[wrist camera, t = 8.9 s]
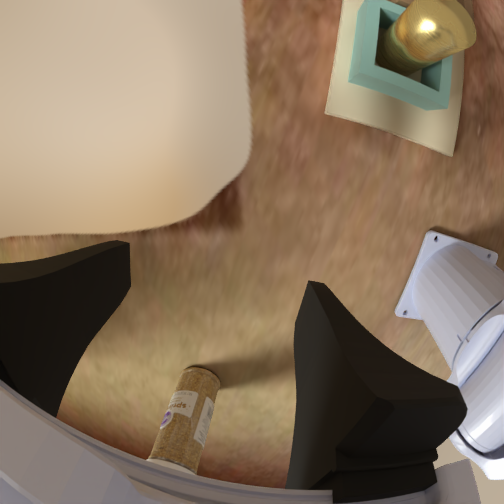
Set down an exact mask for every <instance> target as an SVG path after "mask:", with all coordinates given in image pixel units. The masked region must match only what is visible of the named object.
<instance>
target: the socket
mask: <svg viewBox="0 0 504 504" xmlns="http://www.w3.org/2000/svg"><path fill="white" fill-rule="evenodd" d="M405 9H406V8H405V7H402V6H400V5H397V4H395V3H392V2H390V1H387V0H364V2H363V3H362V5H361V6H360V8H359V10H358V11H357V20H356V29H355V36H354V44H353V51H352V58H351V64H350V71H349V77H348V82H349V83H353V84H356V85H359V86H362V87H366V88H369V89H372V90H375V91H378V92H381V93H383V94H386V95H389V96H392V97H394V98H397V99H400V100H402V101H405V102H407V103H410V104H412V105H414V106H417V107H419V108H421V109H424V110H426V111H429V110H439V109H448V105H449V96H450V87H451V75H452V57H453V55H450V56H448V57H446V58H444V59H442V60H440V61H437V62H435V63H433V64H431V65H429V66H427V67H425V68H423V69H422V73H421V82H420V83H419V82H417V81H414V80H412V79H410V78H407V77H405V76H402V75H400V74H397V73H395V72H392V71H390V70H387V69H384V68H381V67H379V66H376V65H374V63H375V56H376V48H377V39H378V29H379V27H381V28H383V29H386V30H387V29H388V28H389V27H390V26H391V25H392V24H393V23H394V21H395V20H396V19H397V18H398V17H399V16H400V15H401V14H402V13H403V12H404V11H405Z"/></svg>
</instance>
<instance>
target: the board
mask: <svg viewBox="0 0 504 504" xmlns="http://www.w3.org/2000/svg"><path fill="white" fill-rule="evenodd" d="M363 2H364V0H343V1H342V8H341V16H340V23H339V30H338V37H337V44H336V50H335V57H334V63H333V69H332V75H331V81H330V86H329V92H328V97H327V103H326V108H325V114H327V115H331V116H335V117H339V118H342V119H346V120H350V121H353V122H356V123H360V124H363V125H366V126H370V127H373V128H376V129H379V130H382V131H385V132H388V133H391V134H393V135H396V136H399V137H402V138H404V139H407V140H410V141H412V142H415V143H417V144H420V145H422V146H425V147H427V148H429V149H432V150H434V151H436V152H439V153H441V154H443V155H445V156H450V157H453V152H454V147H455V141H456V136H457V130H458V124H459V117H460V109H461V100H462V90H463V77H464V50H462V51H460V52H457V53H455V54H453V57H452V75H451V87H450V96H449V105H448V109H439V110H429V111H426V110H424V109H421V108H419V107H417V106H414V105H412V104H410V103H407V102H405V101H402V100H400V99H397V98H394V97H392V96H389V95H386V94H383V93H381V92H378V91H375V90H372V89H369V88H366V87H362V86H359V85H356V84H353V83H349V82H348V77H349V71H350V64H351V58H352V51H353V44H354V36H355V29H356V20H357V11H358V10H359V8H360V6H361V5H362V3H363ZM385 31H386V29H383V28H381V27H379V29H378V39H379V38H380V37H381V36H382V35H383V34H384V33H385ZM378 39H377V40H378ZM374 65H376V66H379V65H378V64H377V62H376V60H375V63H374ZM421 73H422V69H421V70H419V71H417V72H415V73H413V74H411V75H409V76H406V77H407V78H410V79H412V80H414V81H417V82H419V83H420V82H421Z"/></svg>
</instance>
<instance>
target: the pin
mask: <svg viewBox="0 0 504 504" xmlns="http://www.w3.org/2000/svg"><path fill="white" fill-rule="evenodd" d="M475 41H476V28H475V25H474V22H473V20H472V18H471V17H470V15H469V13H468V12H467V11H466V9H465V8H464V7H463V6H462V5H461V4H460V3H459V2H458V1H457V0H414V1H413V2H412V3H411V4H410V5H409V6H408V7H407V8H406V9H405V11H404V12H403V13H402V14H401V15H400V16H399V17H398V18H397V19H396V20H395V21H394V23H393V24H392V25H391V26H390V27H389V28H388V29H387V30H386V31H385V33H384V34H383V35H382V36H381V37H380V38H379V39H378V40H377V48H376V56H375V60H376V62H377V64H378V65H379V67H381V68H384V69H387V70H390V71H392V72H395V73H397V74H400V75H402V76H405V77H406V76H409V75H411V74H413V73H415V72H417V71H419V70H421V69H423V68H425V67H427V66H429V65H431V64H433V63H435V62H437V61H440V60H442V59H444V58H446V57H448V56H450V55H453V54H455V53H457V52H460V51H462V50H464V49H466V48H469V47H471V46H472V45H473V44H474V43H475Z"/></svg>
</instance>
